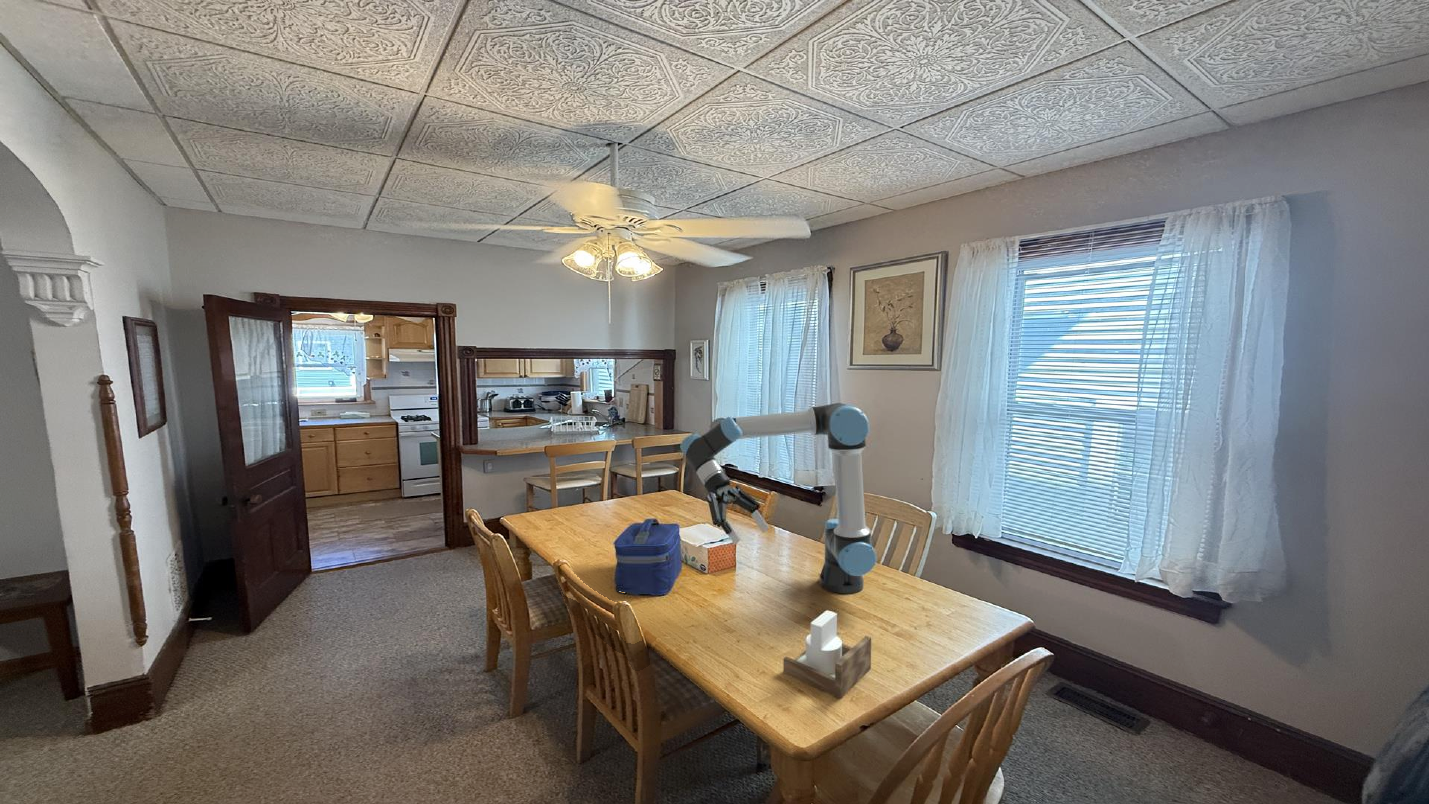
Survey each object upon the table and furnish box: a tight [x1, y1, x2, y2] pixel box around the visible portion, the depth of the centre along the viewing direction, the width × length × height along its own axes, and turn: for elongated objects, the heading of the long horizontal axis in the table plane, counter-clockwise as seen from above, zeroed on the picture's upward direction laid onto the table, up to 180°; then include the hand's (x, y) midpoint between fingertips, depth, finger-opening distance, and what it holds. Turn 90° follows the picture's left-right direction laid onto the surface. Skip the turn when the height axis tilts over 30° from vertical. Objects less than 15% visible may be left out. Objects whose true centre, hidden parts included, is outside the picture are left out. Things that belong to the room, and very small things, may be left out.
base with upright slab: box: [805, 610, 843, 674], centre depth 133 cm, size 9×9×12 cm
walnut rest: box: [782, 635, 872, 700], centre depth 133 cm, size 16×16×8 cm
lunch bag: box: [613, 517, 683, 596], centre depth 190 cm, size 31×21×20 cm
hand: (752, 536), depth 153 cm, fingers open, 13 cm apart
